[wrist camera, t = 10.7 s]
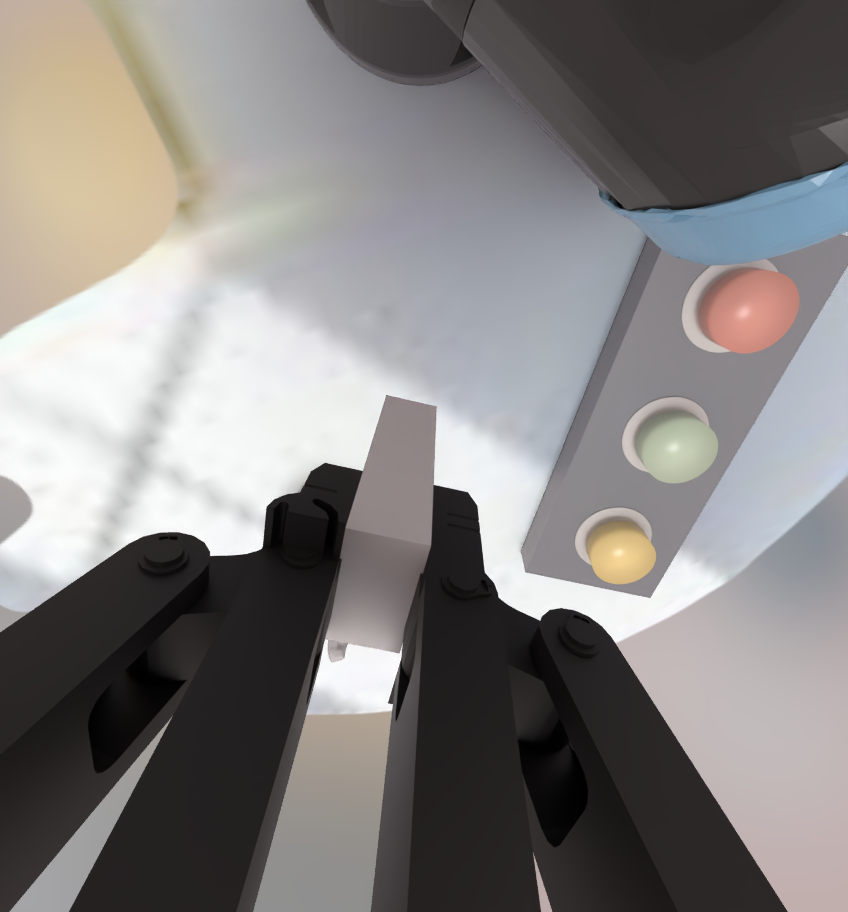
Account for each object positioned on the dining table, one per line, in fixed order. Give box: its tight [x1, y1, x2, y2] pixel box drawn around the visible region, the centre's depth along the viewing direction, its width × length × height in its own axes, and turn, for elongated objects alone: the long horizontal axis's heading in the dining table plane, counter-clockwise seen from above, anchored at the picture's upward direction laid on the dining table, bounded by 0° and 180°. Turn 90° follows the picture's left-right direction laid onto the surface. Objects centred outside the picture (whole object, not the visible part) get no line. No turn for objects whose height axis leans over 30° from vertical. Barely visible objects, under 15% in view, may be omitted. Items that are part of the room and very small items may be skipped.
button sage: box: [635, 410, 718, 483], centre depth 35 cm, size 5×5×2 cm
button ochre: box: [586, 521, 656, 584], centre depth 40 cm, size 5×5×2 cm
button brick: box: [699, 267, 799, 354], centre depth 31 cm, size 5×5×2 cm
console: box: [521, 234, 848, 598], centre depth 38 cm, size 31×12×3 cm, turn 167°
